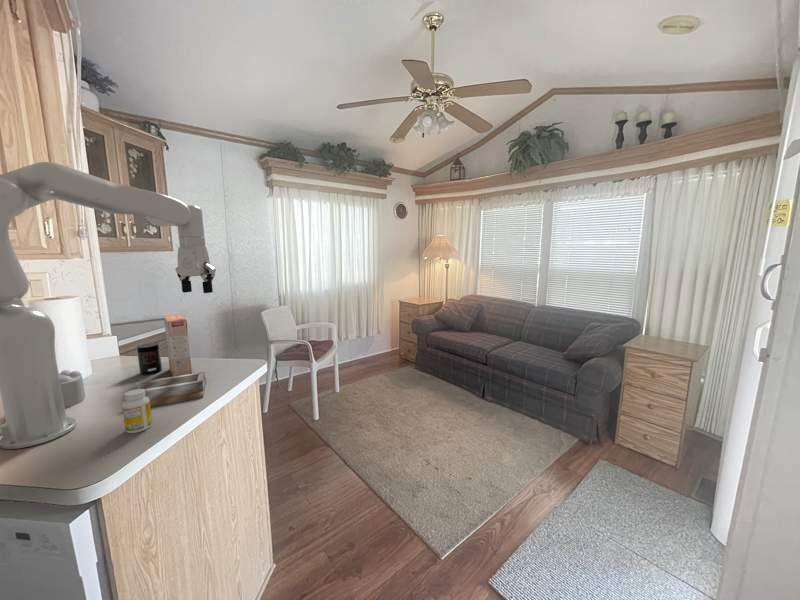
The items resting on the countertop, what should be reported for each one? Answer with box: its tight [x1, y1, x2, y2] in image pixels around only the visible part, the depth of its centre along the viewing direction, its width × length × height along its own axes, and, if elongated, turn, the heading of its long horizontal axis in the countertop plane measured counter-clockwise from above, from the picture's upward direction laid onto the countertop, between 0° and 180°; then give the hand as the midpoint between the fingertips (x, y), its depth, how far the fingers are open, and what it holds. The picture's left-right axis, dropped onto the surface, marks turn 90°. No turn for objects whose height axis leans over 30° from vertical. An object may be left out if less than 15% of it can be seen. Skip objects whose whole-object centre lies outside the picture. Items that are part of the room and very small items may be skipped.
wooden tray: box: [135, 371, 207, 408], centre depth 101 cm, size 18×14×4 cm
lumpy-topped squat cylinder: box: [58, 369, 86, 408], centre depth 98 cm, size 10×13×9 cm
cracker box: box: [163, 314, 193, 377], centre depth 120 cm, size 14×6×21 cm, turn 40°
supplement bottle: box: [121, 388, 153, 434], centre depth 82 cm, size 5×5×10 cm
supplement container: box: [135, 342, 163, 376], centre depth 121 cm, size 7×7×10 cm
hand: (197, 292), depth 114 cm, fingers open, 9 cm apart
